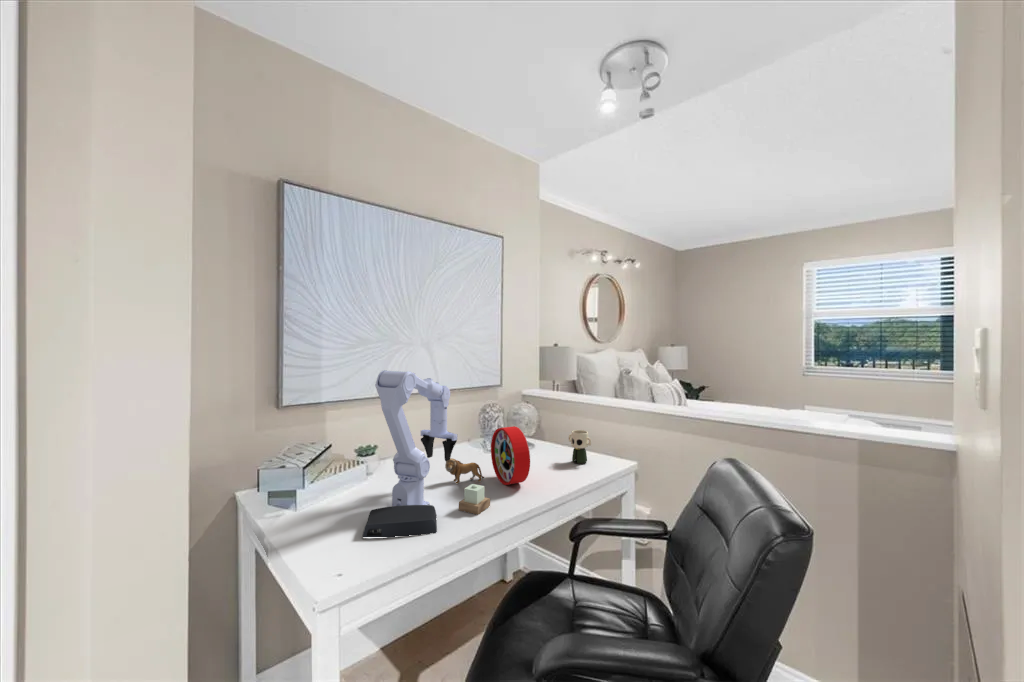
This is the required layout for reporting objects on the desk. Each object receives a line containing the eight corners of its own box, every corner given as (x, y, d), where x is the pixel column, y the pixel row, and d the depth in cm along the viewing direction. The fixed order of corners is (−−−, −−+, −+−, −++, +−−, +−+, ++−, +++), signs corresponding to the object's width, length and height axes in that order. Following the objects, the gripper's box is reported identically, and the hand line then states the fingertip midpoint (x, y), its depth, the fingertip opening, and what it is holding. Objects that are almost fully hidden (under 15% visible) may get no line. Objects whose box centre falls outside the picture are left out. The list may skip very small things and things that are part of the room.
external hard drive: (368, 520, 120) (368, 506, 120) (436, 515, 124) (436, 501, 124) (361, 542, 107) (361, 526, 107) (437, 536, 111) (437, 520, 111)
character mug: (564, 461, 175) (564, 431, 175) (573, 457, 180) (573, 428, 180) (586, 467, 168) (586, 435, 168) (595, 463, 173) (595, 432, 173)
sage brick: (477, 504, 124) (477, 489, 124) (464, 501, 126) (464, 486, 126) (484, 498, 128) (484, 484, 128) (472, 496, 130) (472, 482, 130)
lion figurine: (446, 486, 146) (446, 461, 146) (443, 481, 151) (443, 456, 151) (486, 481, 151) (486, 457, 151) (482, 476, 156) (482, 453, 156)
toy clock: (490, 475, 158) (491, 423, 157) (504, 472, 160) (504, 421, 160) (515, 493, 140) (515, 434, 140) (530, 490, 143) (530, 432, 142)
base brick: (478, 515, 123) (478, 506, 123) (458, 510, 126) (458, 502, 126) (490, 506, 129) (490, 498, 129) (471, 502, 132) (471, 494, 132)
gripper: (462, 419, 144) (462, 458, 144) (429, 415, 150) (429, 452, 151) (450, 423, 137) (450, 464, 138) (416, 419, 144) (416, 457, 144)
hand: (438, 458), depth 144 cm, fingers open, 7 cm apart
